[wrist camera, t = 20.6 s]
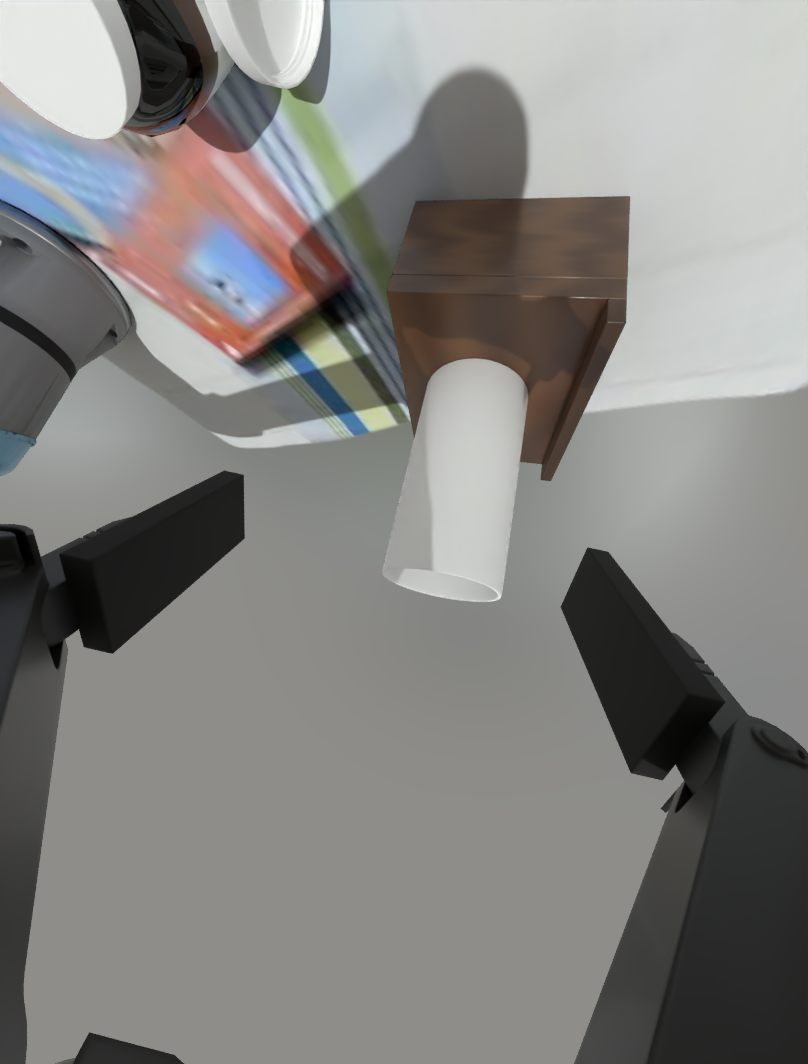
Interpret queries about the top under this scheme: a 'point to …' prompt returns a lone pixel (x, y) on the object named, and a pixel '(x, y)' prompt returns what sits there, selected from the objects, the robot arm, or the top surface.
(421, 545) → the cup
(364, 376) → the top surface
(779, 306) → the top surface
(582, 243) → the small wooden box
